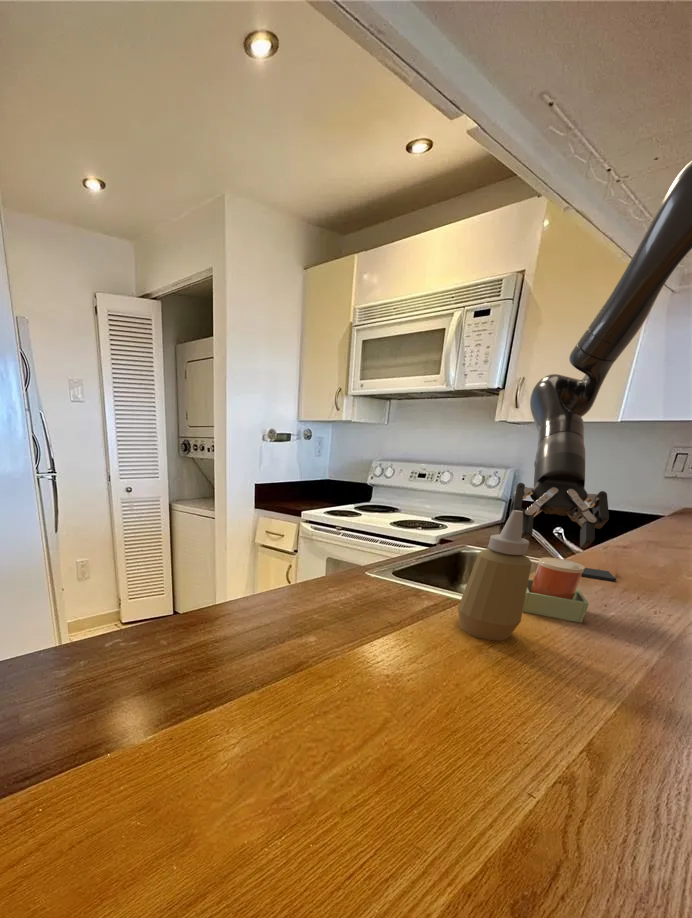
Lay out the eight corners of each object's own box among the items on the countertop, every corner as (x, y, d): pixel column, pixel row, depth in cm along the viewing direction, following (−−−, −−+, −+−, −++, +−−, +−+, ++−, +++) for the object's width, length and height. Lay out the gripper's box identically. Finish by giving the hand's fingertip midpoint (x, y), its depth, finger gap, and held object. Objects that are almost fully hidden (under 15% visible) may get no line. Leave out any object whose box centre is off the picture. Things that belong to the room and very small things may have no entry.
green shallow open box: (569, 609, 80) (577, 587, 78) (580, 628, 73) (589, 603, 71) (514, 599, 83) (520, 577, 81) (519, 616, 76) (526, 592, 74)
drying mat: (607, 573, 102) (608, 571, 102) (615, 581, 97) (616, 579, 97) (570, 567, 105) (571, 565, 104) (575, 575, 99) (576, 572, 99)
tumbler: (564, 607, 79) (580, 561, 76) (571, 620, 74) (589, 572, 71) (522, 599, 81) (536, 555, 78) (527, 611, 76) (542, 564, 73)
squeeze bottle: (454, 642, 65) (488, 512, 58) (449, 620, 72) (479, 502, 66) (519, 654, 63) (562, 521, 56) (507, 630, 70) (545, 509, 63)
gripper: (522, 446, 83) (516, 523, 78) (616, 454, 79) (617, 535, 74) (509, 474, 90) (502, 546, 84) (594, 482, 86) (594, 559, 80)
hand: (556, 541), depth 79 cm, fingers open, 8 cm apart
